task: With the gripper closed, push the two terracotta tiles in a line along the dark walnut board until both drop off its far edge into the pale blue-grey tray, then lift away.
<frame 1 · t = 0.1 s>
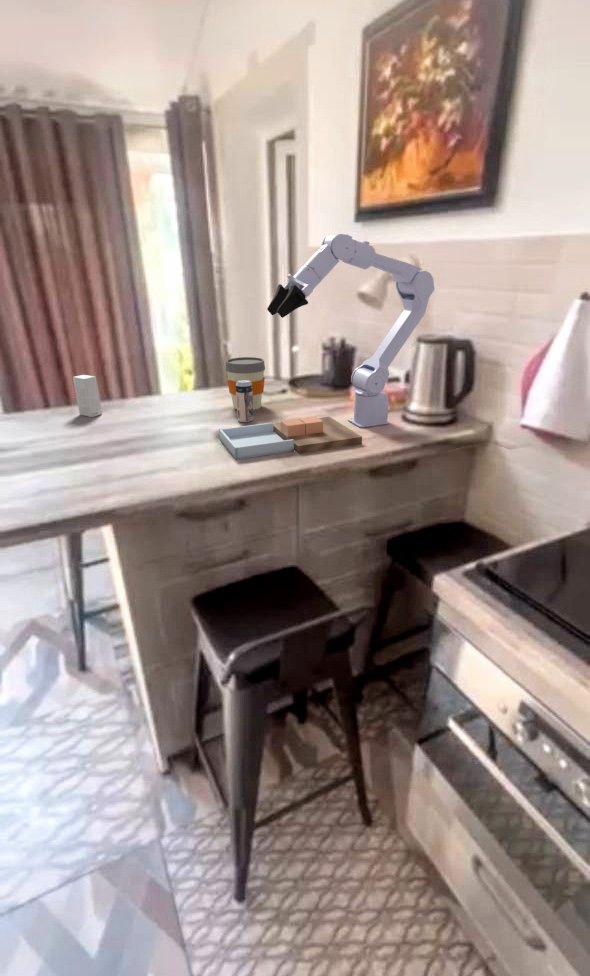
hand: (274, 313, 129), 32 cm above the countertop, tool tilted 50°, fingers open, 7 cm apart
front tile: (292, 433, 137), point 2 cm above the countertop, touching board
beer can: (245, 421, 154), on the countertop
rear tile: (310, 430, 139), point 2 cm above the countertop, touching board
tray: (255, 445, 134), on the countertop
reusable coffee cup: (247, 407, 169), on the countertop
board: (314, 437, 140), on the countertop
skincare box: (91, 415, 162), on the countertop
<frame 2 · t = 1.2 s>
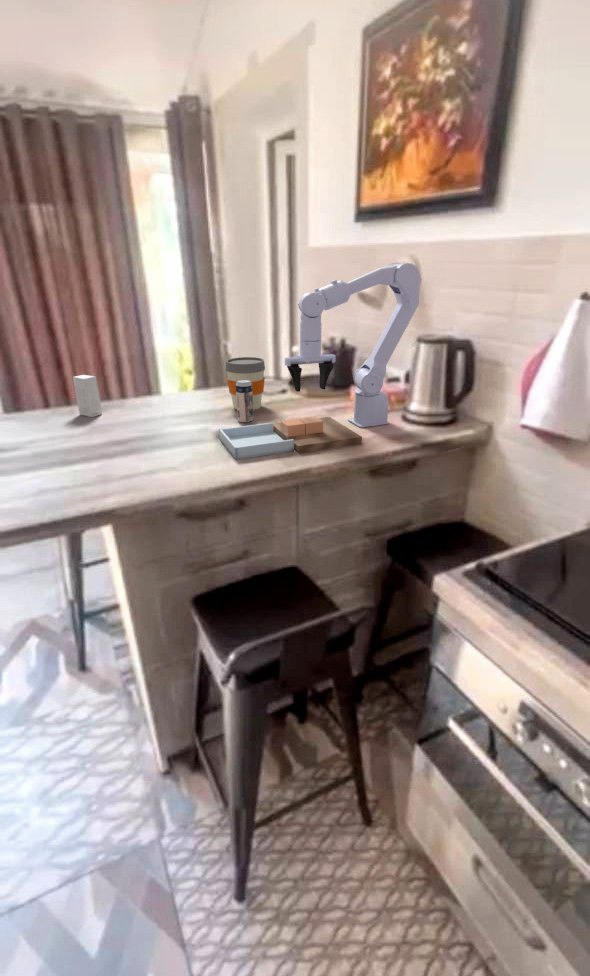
hand: (310, 389, 145), 11 cm above the countertop, tool pointing down, fingers open, 7 cm apart
nothing on the countertop moved.
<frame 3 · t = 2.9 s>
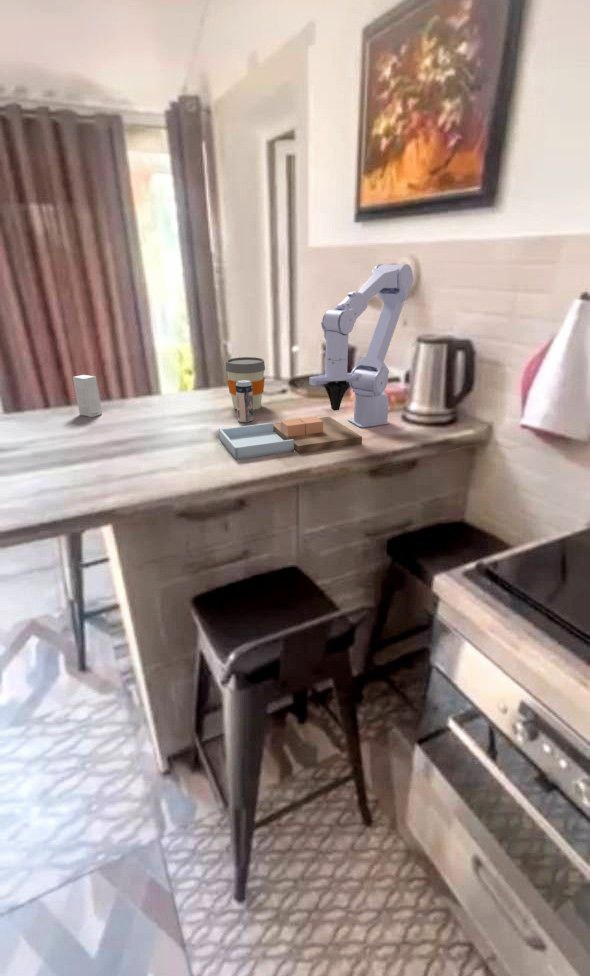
hand: (335, 409, 139), 7 cm above the countertop, tool pointing down, fingers closed
nothing on the countertop moved.
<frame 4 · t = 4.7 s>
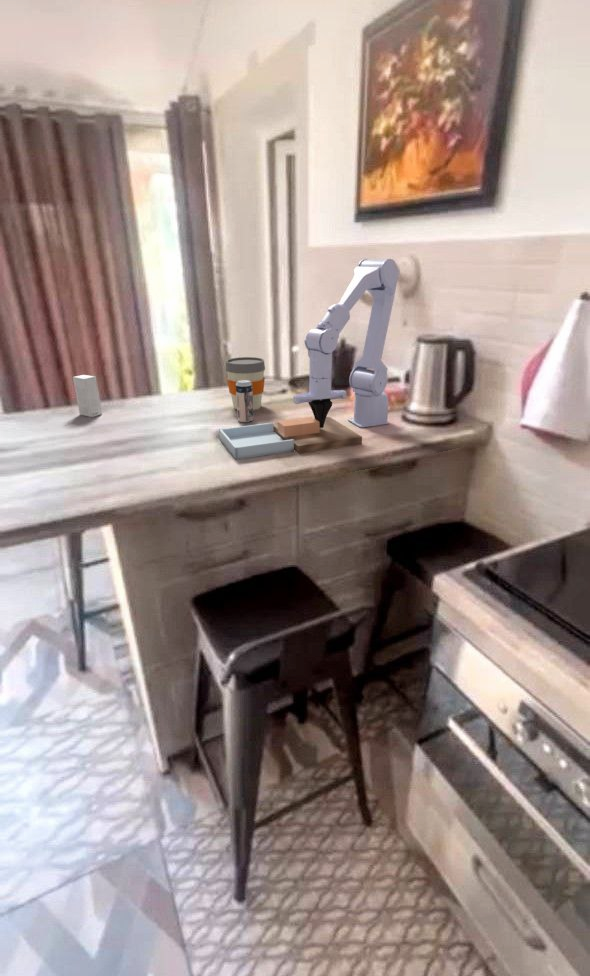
hand: (319, 426, 139), 3 cm above the countertop, tool pointing down, fingers closed
rear tile: (307, 431, 138), point 2 cm above the countertop, touching gripper
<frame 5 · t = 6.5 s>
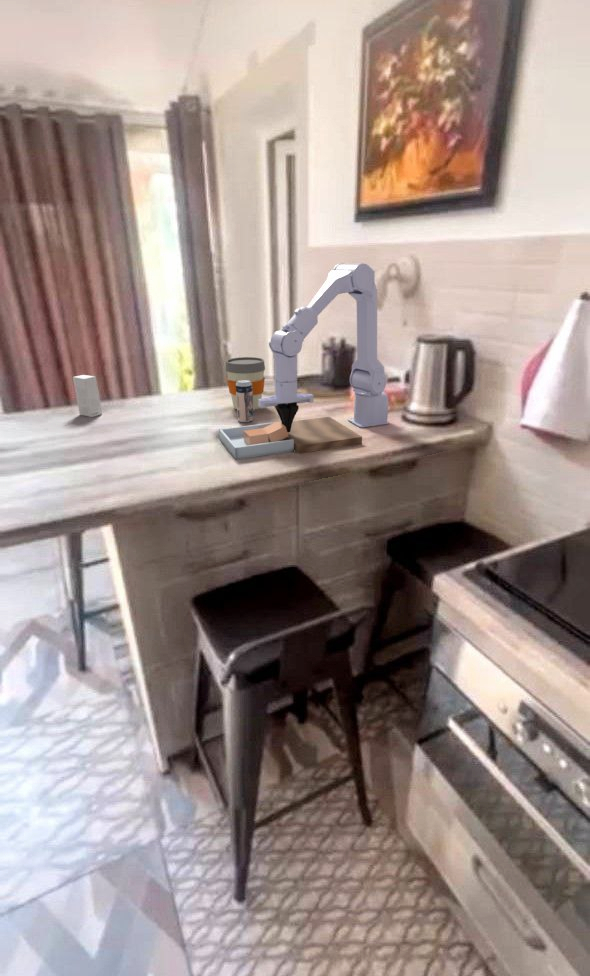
hand: (286, 431, 136), 3 cm above the countertop, tool pointing down, fingers closed
front tile: (256, 443, 134), point 1 cm above the countertop, touching rear tile
rear tile: (276, 437, 136), point 1 cm above the countertop, tilted 17°, touching front tile, gripper
everything else where it was.
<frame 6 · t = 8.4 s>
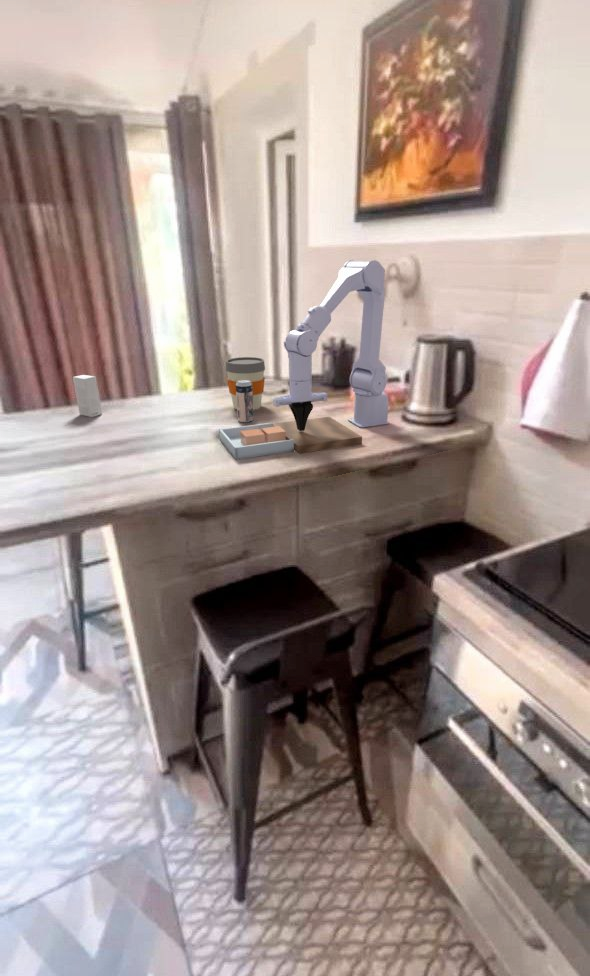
hand: (300, 429, 137), 3 cm above the countertop, tool pointing down, fingers closed
front tile: (252, 443, 134), point 1 cm above the countertop, touching tray
rear tile: (273, 440, 136), point 1 cm above the countertop, touching tray
everything else where it was.
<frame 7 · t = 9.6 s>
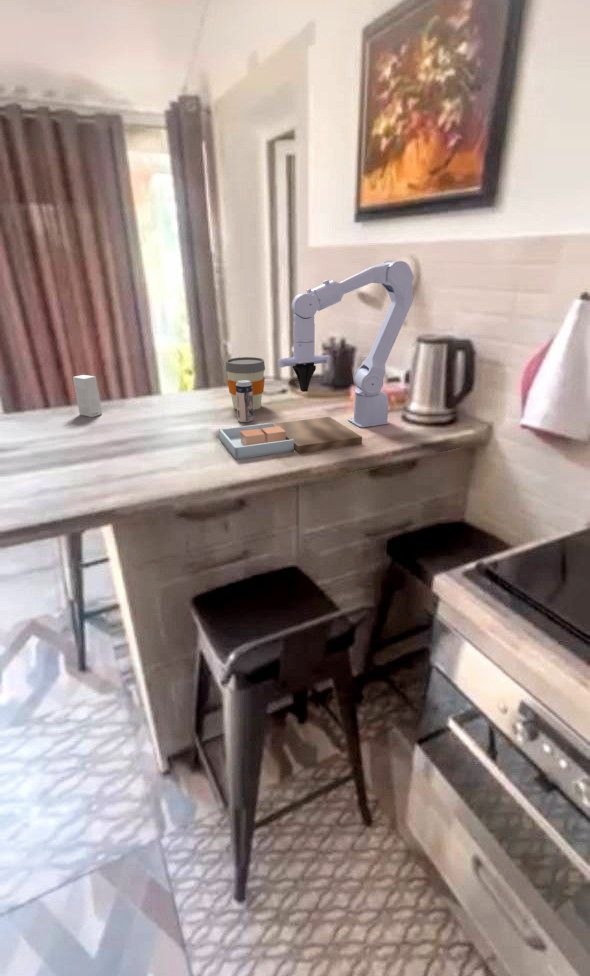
hand: (304, 390, 144), 10 cm above the countertop, tool pointing down, fingers closed
nothing on the countertop moved.
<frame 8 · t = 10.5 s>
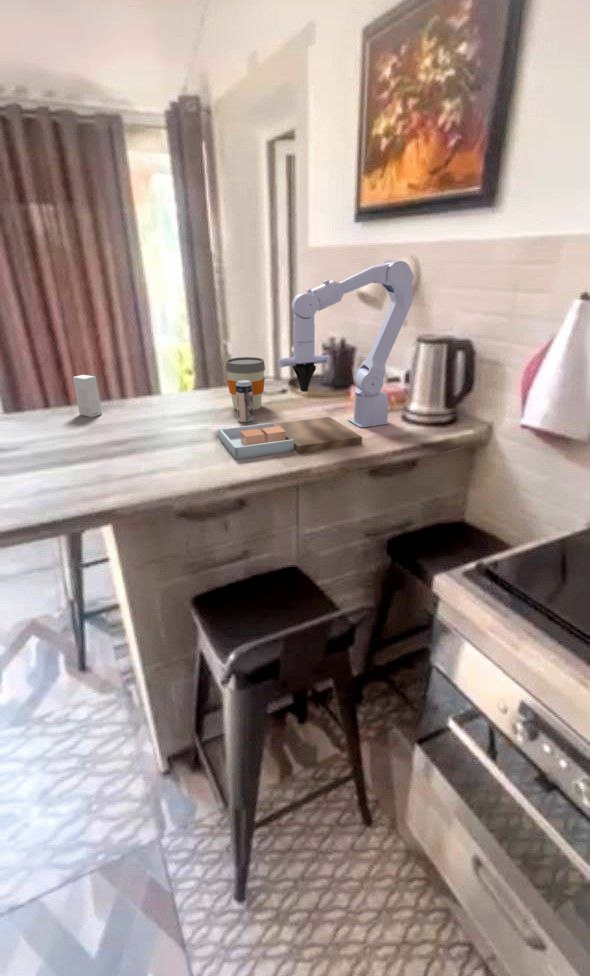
hand: (304, 390, 144), 10 cm above the countertop, tool pointing down, fingers closed
nothing on the countertop moved.
at the end: rear tile inside the target area on the tray (5.4 cm from its centre), point 0.6 cm above the tray's base; front tile inside the target area on the tray (0.4 cm from its centre), point 0.6 cm above the tray's base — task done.
